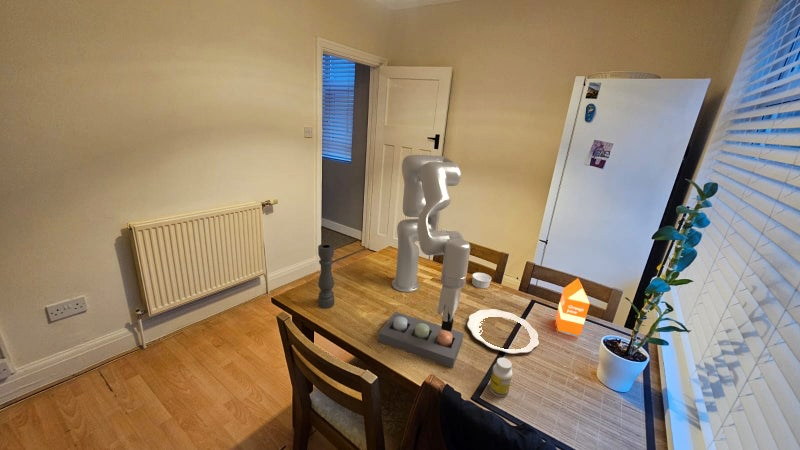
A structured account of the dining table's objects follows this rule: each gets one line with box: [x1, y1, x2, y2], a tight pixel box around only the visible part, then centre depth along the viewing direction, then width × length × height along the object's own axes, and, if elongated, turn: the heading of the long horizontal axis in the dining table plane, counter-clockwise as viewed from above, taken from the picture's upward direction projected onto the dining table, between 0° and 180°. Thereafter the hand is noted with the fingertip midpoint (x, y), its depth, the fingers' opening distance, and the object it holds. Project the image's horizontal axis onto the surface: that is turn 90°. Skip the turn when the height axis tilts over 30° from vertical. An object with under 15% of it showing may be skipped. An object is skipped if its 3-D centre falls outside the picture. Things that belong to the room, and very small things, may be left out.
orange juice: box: [555, 278, 591, 336], centre depth 118 cm, size 8×9×20 cm
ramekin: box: [471, 272, 492, 289], centre depth 149 cm, size 9×9×4 cm
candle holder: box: [317, 243, 335, 310], centre depth 121 cm, size 6×6×25 cm
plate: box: [466, 308, 540, 355], centre depth 116 cm, size 25×25×2 cm
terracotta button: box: [437, 330, 453, 347], centre depth 104 cm, size 5×5×3 cm
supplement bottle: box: [488, 357, 513, 398], centre depth 89 cm, size 5×5×10 cm
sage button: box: [415, 323, 429, 340], centre depth 107 cm, size 5×5×3 cm
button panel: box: [377, 311, 465, 369], centre depth 107 cm, size 14×26×4 cm, turn 67°
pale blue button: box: [393, 317, 407, 332], centre depth 109 cm, size 5×5×3 cm
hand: (446, 329), depth 102 cm, fingers closed
